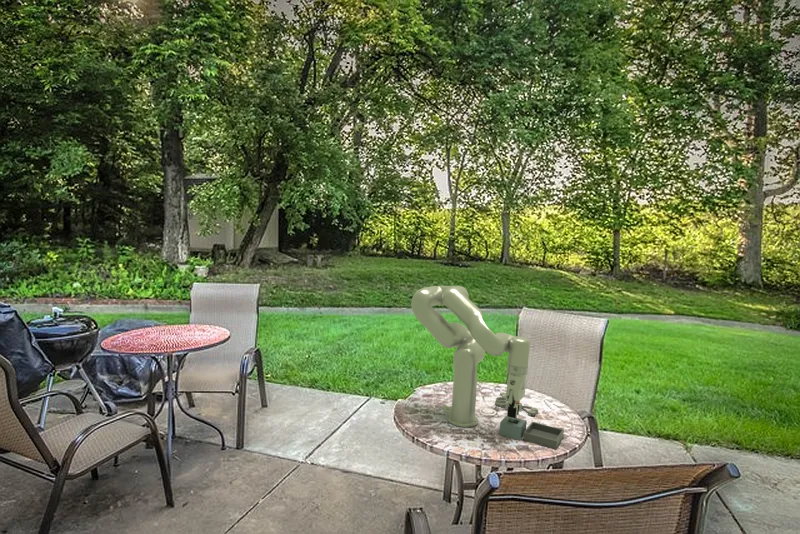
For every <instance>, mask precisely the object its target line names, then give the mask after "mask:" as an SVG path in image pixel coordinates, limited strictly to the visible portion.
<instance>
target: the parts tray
mask: <svg viewBox="0 0 800 534" xmlns="http://www.w3.org/2000/svg"><path fill="white" fill-rule="evenodd" d="M564 431H565V430H564V429H563V428H558V427H555V426H551V425H546V424H542V423H540V422H539V423H538V422H536V421H531V422H530V423H529V425H528V426H526V430H525V431H524V433H523V437H522V441H525V442H529V443H532V444H536V445H539V446H543V447H546V448H550V449H554V450H557V449H558V448H559V446H560V443H561V442H562V440H563V439H564V433H565V432H564Z"/></svg>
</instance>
